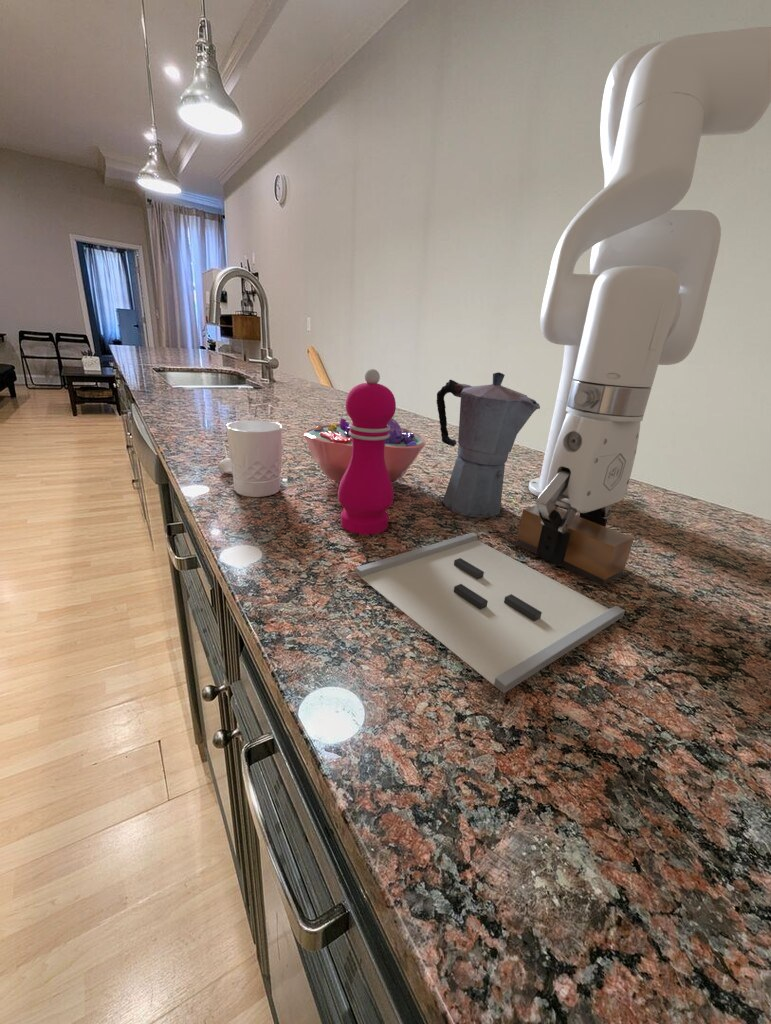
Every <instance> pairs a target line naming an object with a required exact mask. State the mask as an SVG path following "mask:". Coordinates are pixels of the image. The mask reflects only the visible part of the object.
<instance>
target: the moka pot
mask: <svg viewBox="0 0 771 1024" xmlns="http://www.w3.org/2000/svg"><path fill="white" fill-rule="evenodd" d="M505 376H506V375H505V374H504V373H502V372H499V371H498V372H494V373H492V384H483V385H470V384H466V383H459V382H457V381H456V380H453V379H449V380H448V381H447V382H446V383H445V385H443V386H442V387H441V389H440V390H438V391H437V393H436V407H437V413H438V419H439V426H440V427H439V429H440V433H441V434H440V436H441V442H442V444H445V445H448V446H451V447H453V448H454V447H455V446H456V445H457V443H458V445H457V446H458V447H457V457H456V459H455V461H454V465H453V469H452V472H451V474H450V478H449V481H448V484H447V487H446V491H445V493H444V496H443V500H442V503H443V505H444V506H445V508H447V509H448V510H449V511H451V512H453V513H455V514H458V515H461V516H464V517H469V518H492V517H494V516H497V515H499V514H501V507H502V497H503V487H504V480H505V467H506V463H507V462H508V458H509V454H510V453H511V452H512V449H513V448H514V447H513V446H514V444H515V442H516V439H517V436H518V434H519V433H520V431H521V430H522V429H523V428H524V426H525V425H526V423H527V422H528V421H529V419H530V418H531V416H532V415H533V414H534V413H535V411H537V410H540V409H541V406H540V403H538V402H537V400H536V399H533V398H530V397H529V396H528V395H526V394H524V393H522V392H519V391H516V390H514V389H511V388H508V387H506V386H503V385H502V383H503V380H504V378H505ZM449 393H450V394H452V396H454V397H456V398H460V403H459V406H460V407H459V421H458V436H457V437H458V439H457V440H456V439H452V438H450V437H449V431H448V428H447V426H448V424H447V423H448V421H447V419H448V418H447V411H446V408H447V407H446V402H445V396H446V395H447V394H449Z"/></svg>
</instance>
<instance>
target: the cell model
mask: <svg viewBox="0 0 771 1024" xmlns="http://www.w3.org/2000/svg"><path fill="white" fill-rule="evenodd" d="M350 423H351V422H348V421H347V419H346V418H340V422H339V423H336V424H335V423H334V422H333V423H331V424H317V425H316V426H313V427H311V428H307V429H306V430H304V431H303V432H302V434H303V437H304V440H305V442H306V444H307V445H306V446H307V447H308V450H309V453H310V455H311V456H312V458H313V460H314V462H315V463H316V464H317V465H318V467H319V468H320V469H321V471H322V473H323V474H324V475H325V476H326V477H327V478H328V479H330V480H331V481H334V482H337V483H340V482H341V479H342V477H343V475H344V473H345V472H346V470H347V468H348V466H349V463H350V460H351V456H352V437H351V436H350V435H349V431H350V427H349V424H350ZM387 425H389V426H390V430H389V435H390V436H389V438H387V439H386V441H385V447H384V459H385V464H386V468H387V471H388V473H389V476H390V479H391V481H392V483H394V482H396V481H397V480H399V479H401V478H403V477H404V475H405V474H406V473H407V472H408V470H409V469H410V467H411V466H412V465H413V464H414V462H416V459H418V456H419V455H420V453H421V452H422V451H423V449H424V447H425V446H426V445H427V441H426V439H425V437H424V436H422V435H420V434H418V433H415V432H413V431H411V430H409V429H407V428H403V427H401V425H400V424H399V422H398V421H397V420H396V419H394V418H393V417H392V418H391V419H390V420H389V422H388V424H387Z"/></svg>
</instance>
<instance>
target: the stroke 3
mask: <svg viewBox="0 0 771 1024" xmlns="http://www.w3.org/2000/svg"><path fill="white" fill-rule="evenodd" d="M504 603H505V604H507V605H508V606H510V607H512V608H513V609H515V610H517V611H518V612H520V613H521V614H523V615H525V616H526V617H528V618H529V619H531V620H533V621H536V620H538V619H540V618H541V614H542V612H541V611H539V610H537V609H536V608H534V607H532V606H530V605H529V604H527V603H525V602H524V601H522V600H520V599H519V598H517V597H515V596H514V595H512V594H510V595H508V596H506V597H505V600H504Z"/></svg>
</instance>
